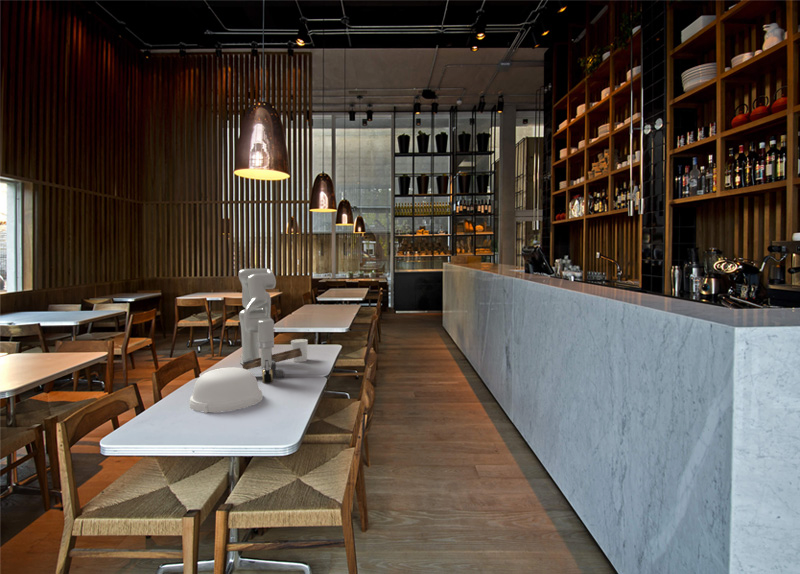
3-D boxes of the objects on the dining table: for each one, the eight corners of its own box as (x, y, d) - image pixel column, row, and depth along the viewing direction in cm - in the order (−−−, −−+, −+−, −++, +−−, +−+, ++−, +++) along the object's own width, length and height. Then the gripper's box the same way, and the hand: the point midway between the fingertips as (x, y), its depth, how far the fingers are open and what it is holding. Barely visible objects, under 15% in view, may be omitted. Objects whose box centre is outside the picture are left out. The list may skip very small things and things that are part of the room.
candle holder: (306, 362, 282) (305, 342, 281) (289, 362, 282) (288, 342, 281) (309, 358, 292) (309, 339, 291) (293, 358, 292) (293, 339, 291)
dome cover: (239, 415, 191) (238, 380, 190) (172, 412, 197) (170, 378, 196) (275, 392, 223) (274, 362, 222) (215, 390, 228) (214, 360, 227)
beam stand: (263, 379, 245) (262, 361, 244) (263, 372, 260) (262, 355, 259) (283, 377, 248) (283, 359, 247) (282, 370, 262) (281, 354, 262)
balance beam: (243, 370, 246) (241, 362, 245) (244, 366, 253) (242, 359, 253) (302, 355, 253) (300, 348, 253) (301, 352, 261) (299, 345, 260)
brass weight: (260, 382, 240) (259, 370, 240) (268, 379, 244) (268, 368, 243) (266, 383, 237) (265, 371, 236) (274, 381, 241) (274, 369, 240)
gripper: (258, 342, 246) (259, 377, 248) (258, 348, 230) (259, 385, 231) (273, 341, 248) (274, 375, 250) (274, 347, 232) (275, 384, 233)
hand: (267, 380), depth 240 cm, fingers closed on brass weight, 5 cm apart
